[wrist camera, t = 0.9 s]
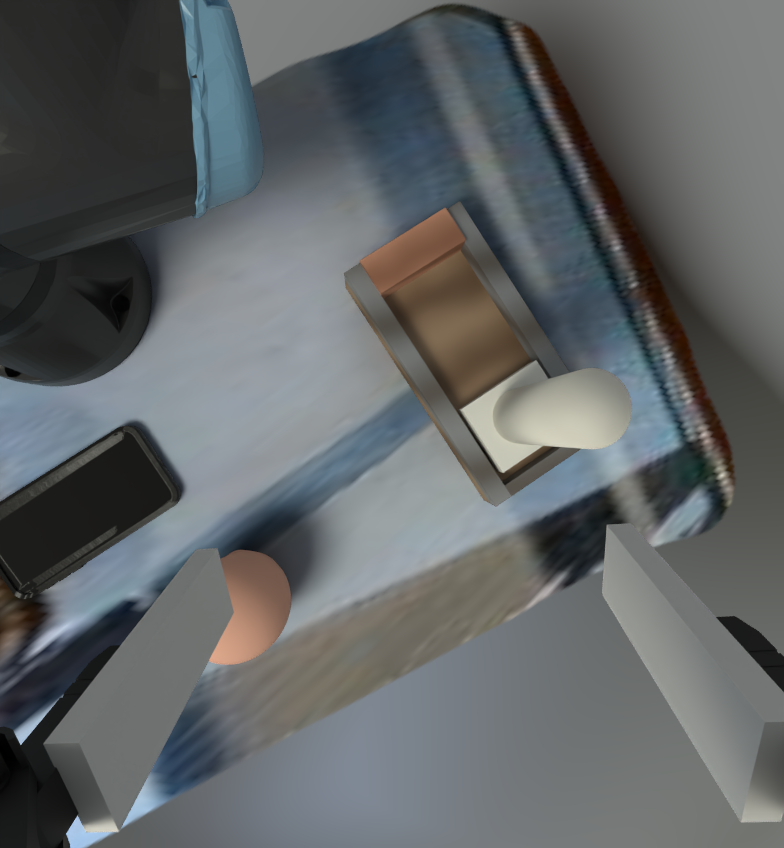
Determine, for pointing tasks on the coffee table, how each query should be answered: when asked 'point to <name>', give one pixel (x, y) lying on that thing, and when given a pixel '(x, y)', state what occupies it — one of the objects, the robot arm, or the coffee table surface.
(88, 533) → the phone
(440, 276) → the track
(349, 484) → the coffee table surface
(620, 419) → the disc
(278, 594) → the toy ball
